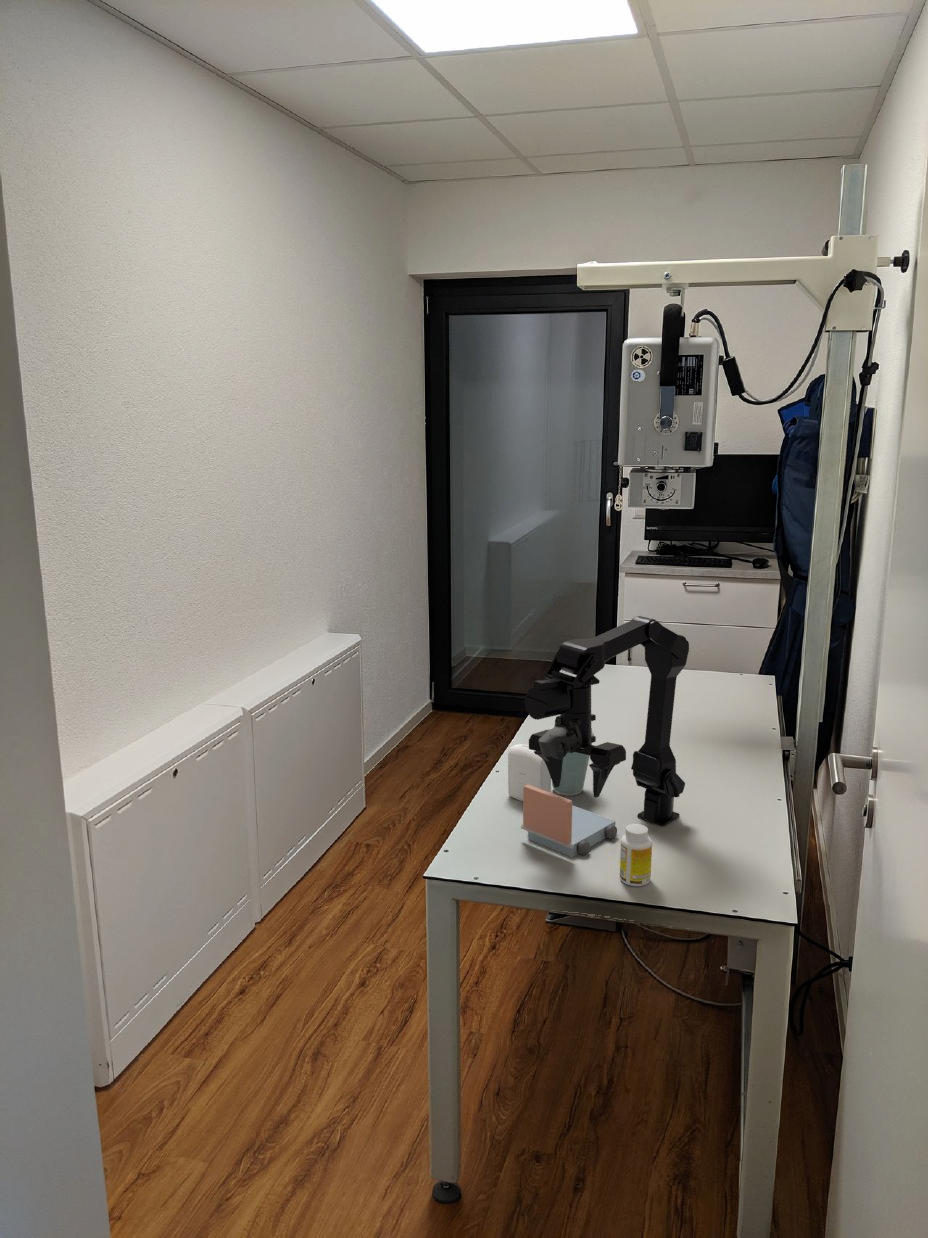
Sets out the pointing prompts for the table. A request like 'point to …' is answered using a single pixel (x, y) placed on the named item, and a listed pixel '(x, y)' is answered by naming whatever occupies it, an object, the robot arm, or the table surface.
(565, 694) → the robot arm
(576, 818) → the cart bed
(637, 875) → the supplement bottle
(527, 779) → the photo printer
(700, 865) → the table surface
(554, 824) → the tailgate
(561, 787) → the disposable coffee cup
